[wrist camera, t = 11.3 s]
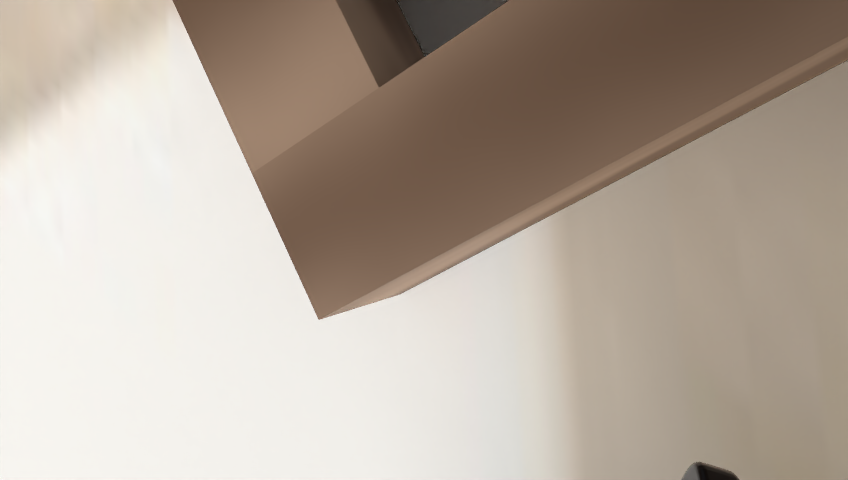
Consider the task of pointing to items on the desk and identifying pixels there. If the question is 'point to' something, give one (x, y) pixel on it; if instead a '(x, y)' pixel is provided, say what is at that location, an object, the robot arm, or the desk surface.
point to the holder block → (477, 114)
